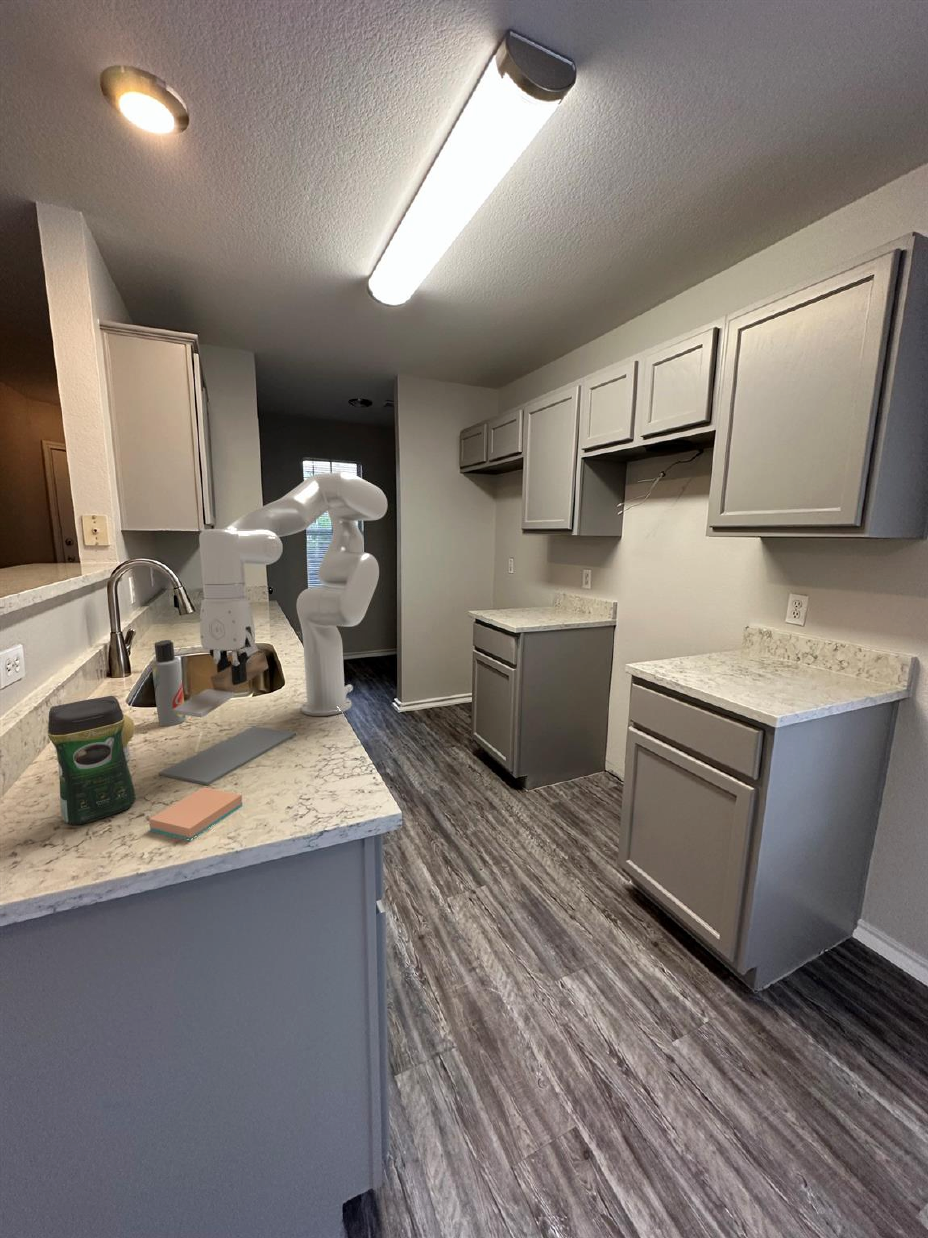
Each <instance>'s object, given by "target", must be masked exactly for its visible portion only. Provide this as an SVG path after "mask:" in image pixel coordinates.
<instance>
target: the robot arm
mask: <svg viewBox="0 0 928 1238" xmlns="http://www.w3.org/2000/svg"><path fill="white" fill-rule="evenodd" d="M387 510H388V499H387V497H386V494H384V492H383V490H382V489H381V488H379V486H376V485H375V484H372V483H371V482H368V481H367V480H365V479H363V478H361V477H360V476H357V475H355V474H352V473H349V472H346V471H338V472H325V473H324V472H323V473H316V474H313V475H310V477H308V478H305V480H303V481H302V482H301V483H300V484H298V485H297V486H296V487H294V488H293V489H291V491H289V492H288V493H286V494H285V495H284V496H282V497H280V498H279V499H276V500H275V501H272V502H270V503H267V504H266V505H263V506H262V507H259V508H256V509H254V510H252V511H249V512H248V513H245V514H244V515H242V516H240V517H239V518H236V519H235V520H234V521H232V522H231V523H229V524H228V525H227V526H226V527H224V528H209V529H208V528H207V529H203V530H202V531H200V532H199V537H198V538H199V540H198V541H199V542H198V543H199V552H200V563H201V574H202V583H203V585H202V586H203V587H202V592H203V597H204V599H202V600H201V604H200V612H199V614H200V615H199V635H200V644H201V645H200V646H201V647H202V648H203V650H204V651H205V652H207V653H208V654H210V657H212V659H213V663H214V664H215V665H216V671H217V673H219V672H221V671H222V670H224V669H226V668H228V667H229V666H231V665H232V664H234V665H232V666H231V671H232V679H233V685H238V684H241V683H244V682H246V681H247V674H246V663H247V662H248V659H249V658H250V657H251V655H253V654H255V653H257V652H259V649H258V647H257V645H256V632H255V624H254V623H255V622H254V615H253V611H252V608H251V603H250V601H249V600H250V599H248V597H247V584H246V572H245V571H246V570H245V566H267V565H272V564H273V563H275V562H277V561H278V560H279V559H280V558H281V556H282V554H283V549H284V548H283V546H284V545H283V543H282V541H281V538H280V537H285V536H290V535H293V534H297V533H301V532H302V531H305V530H306V529H308V528H309V527H311V525H313V524H314V523H315V522H316V521H317V520H318V519H319V518H320V517H322V516H323V515H324V514H325V513H326V512H327V514H328V516H329V519H330V522H331V527H332V537H331V540H330V543H329V544H328V547H327V550H326V551H325V554H324V555H323V558H322V560H321V562H320V563H319V568H318V571H317V577H318V580H319V582H320V583H321V584H322V585H323V586H312V587H307V588H306V589H303V591H301V593H299V595H298V597H297V600H296V612H297V616H298V620H299V624H300V628H301V633H302V635H301V636H302V644H303V645H302V646H303V660H304V676H305V691H306V701H305V702H303V703H301V706H300V711H301V713H303V714H304V715H308V716H312V717H326V716H334V715H337V714H342V713H344V712H346V711H348V710H349V709H350V708H351V707H352V700H351V699H349V698H348V697H347V695H348V693H351V691H353V690H354V686H353V685H352V684H350V683H349V684H347V685H345V673H344V657H343V656H344V654H343V653H344V651H343V640H342V636H341V633H340V631H339V629H338V627H350V628H351V627H356V626H358V625H359V624H360V623H361V622H362V620H363V619H364V618H365V616H366V613H367V611H368V608H369V605H370V603H371V601H372V598H373V596H374V593H375V590H376V588H377V585H378V581H379V576H380V567H379V562H378V560H377V558H375V556H374V555H373V554H371V553H368V552H366V551H365V552H364V551H363V549H364V546H365V542H364V537H363V534H362V533H361V531H360V529H359V527H358V525H357V523H356V522H359V521H363V522H364V521H377V520H381V519H382V518H383V517H384V516H385V515H386V513H387ZM230 652H231V657H232V660H229V659H230ZM217 673H216V674H217ZM246 683H247V682H246ZM337 706H338V707H339V708H340V710H341V711H339V709H338V708H337Z"/></svg>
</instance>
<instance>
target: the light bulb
mask: <svg viewBox="0 0 928 1238" xmlns="http://www.w3.org/2000/svg"><path fill="white" fill-rule="evenodd" d="M123 716H124V726H123V729H122V742H123V748H124V752H125V757H126V760H127V763H128V762H129V761H130V760H131V755H130V754H131V753H130V746H129V745H128V743H130V741H131V740H132V737H133V736H134V733H135V727H136V726H135V723H134V720H133V719H132V718H131V717H129V716H128V715H127V714H123Z"/></svg>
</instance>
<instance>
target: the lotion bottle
mask: <svg viewBox="0 0 928 1238" xmlns="http://www.w3.org/2000/svg"><path fill="white" fill-rule="evenodd" d="M153 647H154V653H155V660H154V661H153V662H152V663H151V669H152V680H153V688H154V694H155V704H156V711H157V721H158V724H159V726H164V727H168V726H169V727H170V726H174V725H175V726H176V725H179V724H182V723H183V722H185V721H186V720H187V719H186V718H187V717H186V716H187V715H181V714H174V713H173V709H174V708H176V707H178V706H179V705H181V704H182V703H184V702H185V699H184V698H185V697H184V689H183V679H182V671H181V670H182V669H181V661H180V659H178V658H176V656H175V647H174V642H173V641H172V640H171V639H164V640H160V641H156V642H155V643H153Z"/></svg>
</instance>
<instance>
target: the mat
mask: <svg viewBox="0 0 928 1238" xmlns="http://www.w3.org/2000/svg"><path fill="white" fill-rule="evenodd" d="M296 735H297V732H296V731H287V730H283V729H282V730H281V729H275V728H268V727H260V726H256V725H254V726H251V727H249V728H248V729H246V730H243V731H241V732H239V733H237V734H235V735H233V736H230V737H229V738H227V739H224V740H222V741H221V742H218V743H217V744H214V745H212V746H210V747H208V748H207V749H204V750H203V751H200V752H198V753H196V754H194V755H192V756H190V757H188V758H186V759H183V760H181V761H180V762H177V763H175V764H173V765H171V766H170V767H167V768H165V769H163V770H161V771H159V772H158V775H159V776H163V777H167V778H172V779H177V780H182V781H186V782H190V783H195V784H202V785H205V786H209V785H211V784H213V783H214V782H216V781H218V780H220V779H221V778H222V779H223V777H225V776H227V775H228V774H230V773H232V772H234V771H236V770H237V769H239V768H241V767H242V766H244V765H246V764H247V763H249V762H251V761H253V760H255V759H257V758H258V757H260V756H262V755H264V754H265V753H267V752H268V751H271V750H272V749H274V748H276V747H278V746H279V745H281V744H282V743H285V742H286V741H287V740H290V739H291V737H292V738H293V737H295V736H296Z"/></svg>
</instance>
